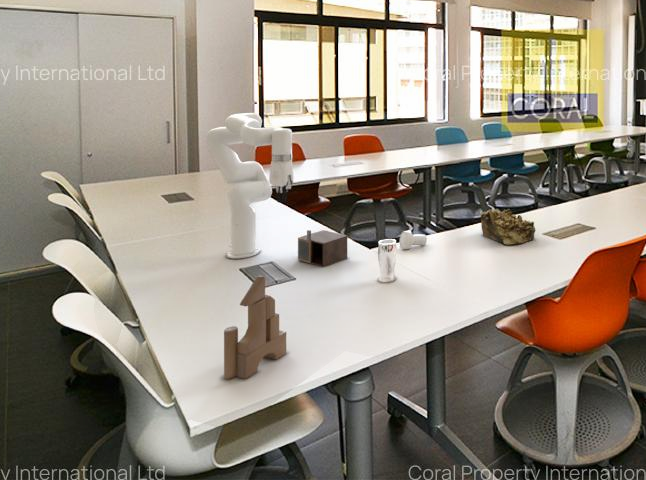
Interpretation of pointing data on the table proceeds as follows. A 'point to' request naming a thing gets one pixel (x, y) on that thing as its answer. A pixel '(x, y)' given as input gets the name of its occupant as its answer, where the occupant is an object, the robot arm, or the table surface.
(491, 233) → the mineral
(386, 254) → the beer glass
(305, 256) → the sliding door
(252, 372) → the wooden toy
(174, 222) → the table surface
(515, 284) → the table surface
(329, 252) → the cabinet
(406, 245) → the spotlight
